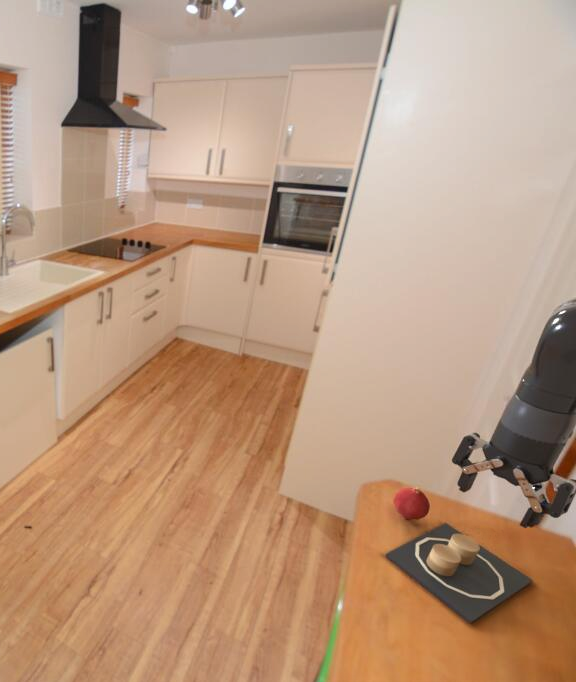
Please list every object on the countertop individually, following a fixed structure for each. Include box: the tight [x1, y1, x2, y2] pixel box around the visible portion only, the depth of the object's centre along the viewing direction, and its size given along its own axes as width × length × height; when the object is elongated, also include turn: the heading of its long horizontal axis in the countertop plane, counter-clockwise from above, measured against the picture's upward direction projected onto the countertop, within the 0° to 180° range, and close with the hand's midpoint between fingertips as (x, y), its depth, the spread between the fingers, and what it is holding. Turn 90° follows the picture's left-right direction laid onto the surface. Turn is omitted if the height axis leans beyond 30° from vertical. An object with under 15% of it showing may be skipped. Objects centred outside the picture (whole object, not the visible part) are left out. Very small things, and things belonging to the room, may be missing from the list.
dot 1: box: [426, 544, 461, 576], centre depth 81 cm, size 4×4×4 cm
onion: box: [392, 487, 431, 521], centre depth 92 cm, size 6×6×8 cm
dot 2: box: [447, 533, 480, 565], centre depth 83 cm, size 4×4×4 cm
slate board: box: [385, 522, 534, 625], centre depth 82 cm, size 14×18×1 cm
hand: (493, 507), depth 76 cm, fingers open, 8 cm apart
